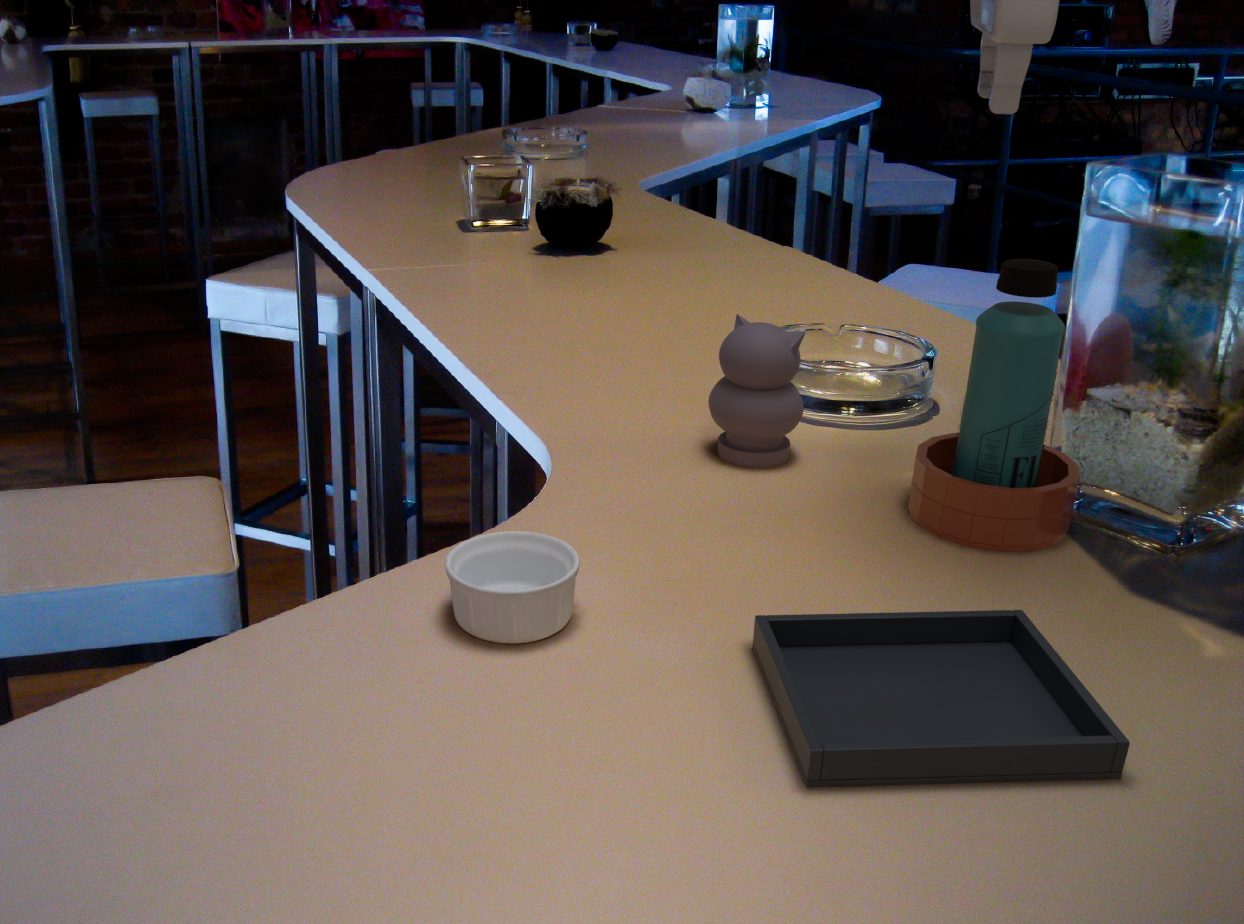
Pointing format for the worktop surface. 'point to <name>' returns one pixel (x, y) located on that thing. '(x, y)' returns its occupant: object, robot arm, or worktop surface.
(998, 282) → the beverage bottle
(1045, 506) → the bowl
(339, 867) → the worktop surface
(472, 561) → the ramekin
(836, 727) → the tray
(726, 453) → the cat figurine
